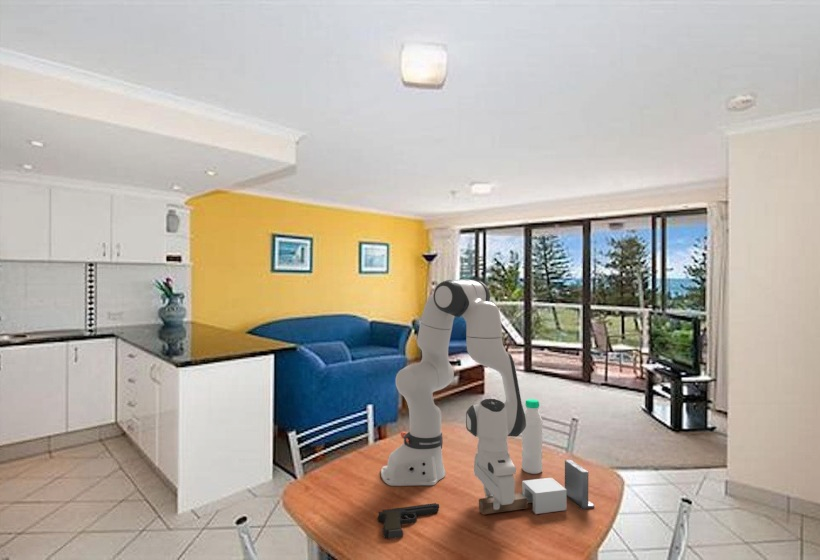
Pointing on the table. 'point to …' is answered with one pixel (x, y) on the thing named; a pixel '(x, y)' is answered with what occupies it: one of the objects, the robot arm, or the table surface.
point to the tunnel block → (545, 495)
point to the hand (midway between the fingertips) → (492, 504)
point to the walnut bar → (487, 508)
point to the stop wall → (577, 484)
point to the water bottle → (532, 439)
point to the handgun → (403, 518)
